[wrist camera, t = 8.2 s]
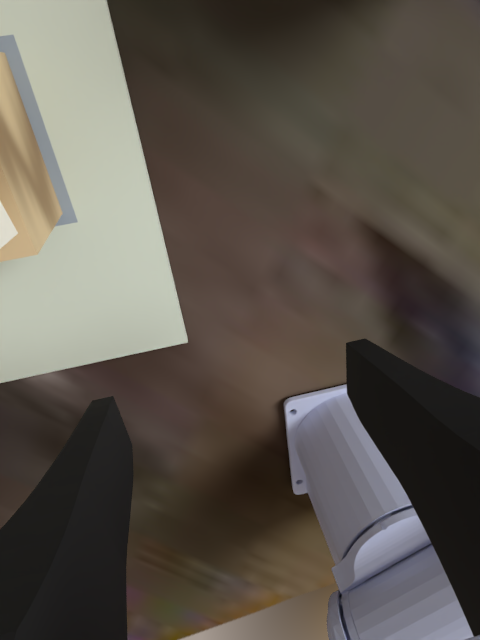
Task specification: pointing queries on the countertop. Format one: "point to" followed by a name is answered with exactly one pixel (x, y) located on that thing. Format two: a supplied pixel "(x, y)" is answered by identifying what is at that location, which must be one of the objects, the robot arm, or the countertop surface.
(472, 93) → the countertop surface
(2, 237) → the cream block
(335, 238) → the countertop surface
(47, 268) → the plate
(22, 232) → the oak block
